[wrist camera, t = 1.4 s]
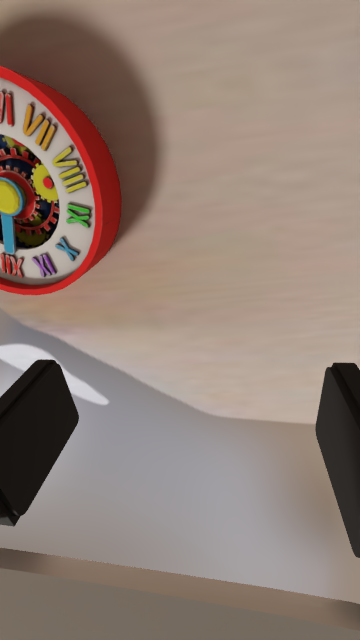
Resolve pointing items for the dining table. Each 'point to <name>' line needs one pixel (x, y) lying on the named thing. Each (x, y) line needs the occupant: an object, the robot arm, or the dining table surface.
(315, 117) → the dining table surface
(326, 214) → the dining table surface
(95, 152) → the toy clock
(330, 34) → the dining table surface
